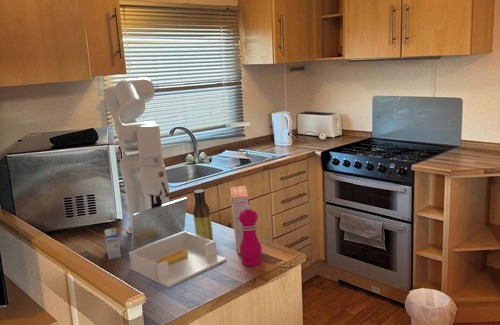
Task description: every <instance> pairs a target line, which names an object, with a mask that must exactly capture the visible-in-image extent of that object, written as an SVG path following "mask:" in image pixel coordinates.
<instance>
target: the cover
mask: <svg viewBox="0 0 500 325" xmlns="http://www.w3.org/2000/svg"><path fill="white" fill-rule="evenodd" d="M187 201H188V197H187V196H186V197H183V198H180V199H176V200H173V201H169V202H170V203H167V204H163V205H160V206H157V207H154V208H151V209H148V210H145V211H142V212H138V213H135V214H133V223H132V234H131V250H132V251H134V250H137V249H139V248H142V247H145V246H147V245H150V244H152V243H155V242H158V241H160V240H163V239H166V238H168V237H171V236H173V235H176V234H179V233H181V232H184V231H185V227H186V226H185V224H186V214H187V204H188V202H187Z"/></svg>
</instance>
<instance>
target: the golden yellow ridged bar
mask: <svg viewBox="0 0 500 325" xmlns="http://www.w3.org/2000/svg"><path fill="white" fill-rule="evenodd" d="M187 256H188V252H187V251H184V250H180V251H177V252H175V253H172V254H170V255H168V256H165V257H163V258H160V259H158V261H157V262H158V264H159V263H161V262H164V261H168V265H169V264H171V263H173V262H176V261H178V260H180V259H183V258H185V257H187Z"/></svg>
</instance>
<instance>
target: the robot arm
mask: <svg viewBox="0 0 500 325" xmlns="http://www.w3.org/2000/svg"><path fill="white" fill-rule="evenodd" d="M155 92H156V91H155V86H154V83H153V81H152V80H151V79H150V78H148V77H137V78H136V77H134V78H126V79H125V78H124V79H122V80H120V81H118V82H117V83H116V84H114V85H110V86H108V87H106V88H105V90H104V92H103V99H104V103H105V106H106V107H107V110H108V112H109V114H110V115H111V117H112V119H113V121H114V122H113V123H114V124H113V125H114V129H115V132H116V136H117V141H118V144H119V148H120V150H121V151H122V152H125V153H132V152H134V154H133V153H132V154H128V155H124V156H123V157H121V159H120V160H119V169H120V173H121V176H122V179H123V184H124V191H125V197H126V206H127V212H128V213H127V214H128V218H127V219H126V220H127V222H129V225H128V226H127V227H126V232H127V233H128V234H131V235H132V223H133V214H135V213H138V212H142V211H145V210H148V209H151V208H154V207H157V206H160V205H162V199H165V198H166V195H165V193H170V186H169V185H170V184H169V180H168V174H167V170H166V167H165V162H164V156H163V151H162V143H161V129H160V125H159V124H158V123H157V122H156V121H154V120H147V121H138V122H137V118H139V117H141V116H142V115H143V114H144V112H145V111H146V104H147V103H149V102H150V101H151V100H153V98H154V97H155ZM135 152H138V153H135ZM151 206H152V207H151Z"/></svg>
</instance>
